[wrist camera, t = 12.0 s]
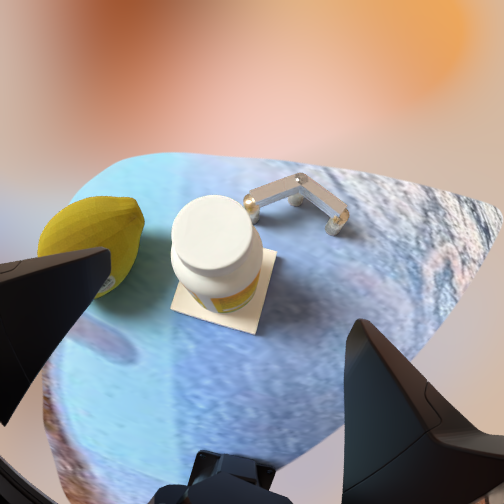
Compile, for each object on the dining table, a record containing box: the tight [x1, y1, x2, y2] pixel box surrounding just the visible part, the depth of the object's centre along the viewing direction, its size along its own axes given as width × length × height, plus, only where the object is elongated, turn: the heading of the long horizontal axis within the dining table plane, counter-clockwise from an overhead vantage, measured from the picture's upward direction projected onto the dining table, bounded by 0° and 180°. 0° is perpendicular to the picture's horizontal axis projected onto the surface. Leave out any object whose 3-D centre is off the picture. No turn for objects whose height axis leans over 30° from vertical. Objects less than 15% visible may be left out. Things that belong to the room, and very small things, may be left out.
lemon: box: [37, 196, 145, 299], centre depth 20 cm, size 11×8×8 cm
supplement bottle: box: [171, 195, 263, 314], centre depth 18 cm, size 5×5×10 cm
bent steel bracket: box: [244, 173, 349, 236], centre depth 24 cm, size 4×9×4 cm, turn 75°
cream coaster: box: [170, 248, 277, 335], centre depth 23 cm, size 7×7×1 cm
